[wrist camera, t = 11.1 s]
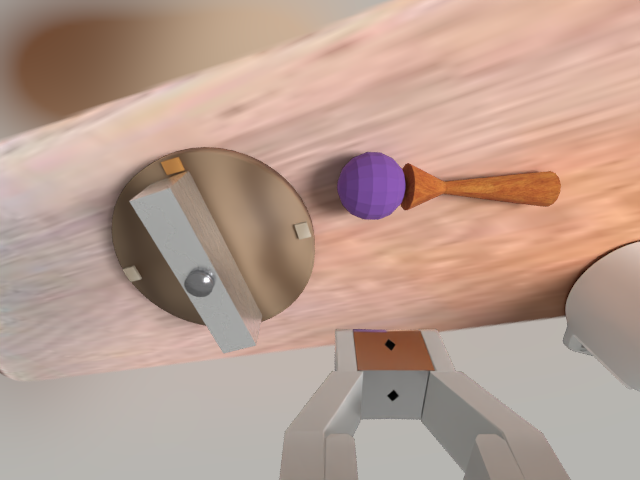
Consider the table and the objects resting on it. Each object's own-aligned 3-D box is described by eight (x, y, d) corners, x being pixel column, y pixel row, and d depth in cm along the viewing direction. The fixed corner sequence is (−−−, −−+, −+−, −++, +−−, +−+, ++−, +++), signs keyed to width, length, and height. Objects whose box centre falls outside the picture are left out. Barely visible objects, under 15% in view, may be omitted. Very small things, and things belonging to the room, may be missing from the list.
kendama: (550, 233, 32) (339, 233, 30) (517, 198, 37) (331, 196, 35) (585, 176, 29) (346, 172, 27) (543, 146, 33) (337, 140, 31)
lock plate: (280, 121, 31) (277, 126, 29) (334, 294, 40) (336, 309, 38) (81, 179, 33) (64, 188, 31) (176, 330, 42) (168, 346, 40)
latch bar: (152, 182, 30) (125, 204, 26) (188, 170, 30) (167, 190, 26) (232, 323, 38) (222, 358, 34) (262, 315, 38) (255, 349, 33)
